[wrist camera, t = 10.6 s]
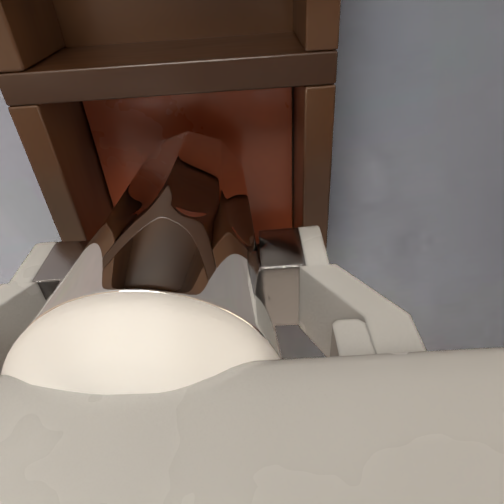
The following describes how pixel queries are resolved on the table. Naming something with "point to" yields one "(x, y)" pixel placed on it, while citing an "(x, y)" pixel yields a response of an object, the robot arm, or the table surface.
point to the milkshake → (158, 285)
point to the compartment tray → (173, 97)
